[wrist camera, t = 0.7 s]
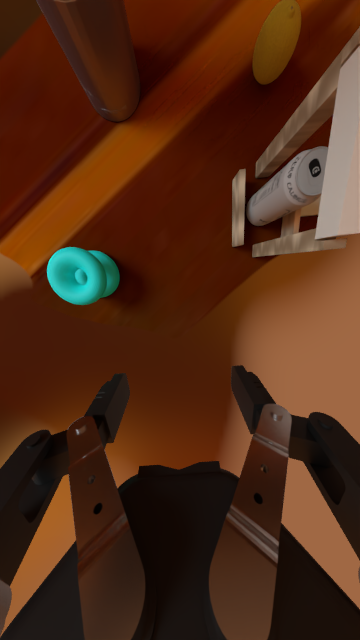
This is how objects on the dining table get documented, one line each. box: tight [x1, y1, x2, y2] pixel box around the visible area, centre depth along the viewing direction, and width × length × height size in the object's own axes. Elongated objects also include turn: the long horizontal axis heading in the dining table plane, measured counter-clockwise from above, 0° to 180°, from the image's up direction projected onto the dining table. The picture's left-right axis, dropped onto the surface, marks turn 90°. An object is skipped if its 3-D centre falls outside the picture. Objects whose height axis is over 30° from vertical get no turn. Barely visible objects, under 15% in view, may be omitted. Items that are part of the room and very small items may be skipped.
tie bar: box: [315, 46, 360, 239], centre depth 16 cm, size 14×2×3 cm, turn 5°
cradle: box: [232, 27, 360, 257], centre depth 25 cm, size 17×12×19 cm
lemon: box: [252, 0, 301, 84], centre depth 24 cm, size 6×6×8 cm
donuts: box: [47, 247, 120, 305], centre depth 33 cm, size 10×10×10 cm
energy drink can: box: [246, 146, 328, 226], centre depth 27 cm, size 6×6×15 cm
